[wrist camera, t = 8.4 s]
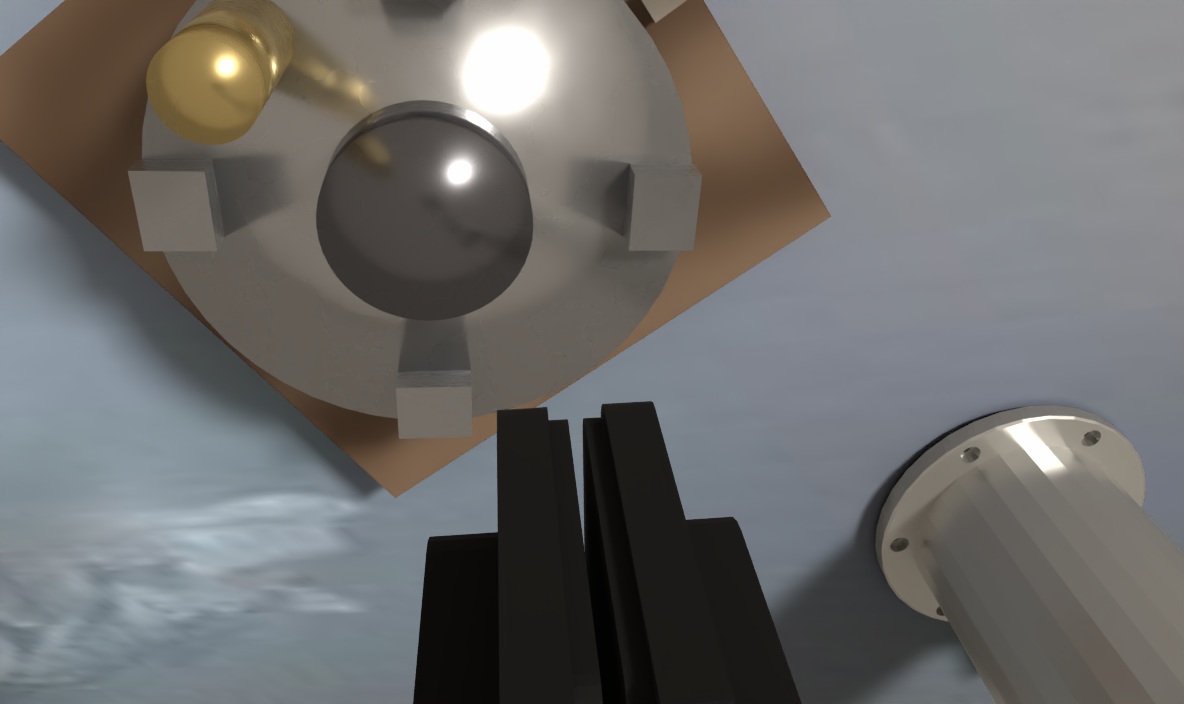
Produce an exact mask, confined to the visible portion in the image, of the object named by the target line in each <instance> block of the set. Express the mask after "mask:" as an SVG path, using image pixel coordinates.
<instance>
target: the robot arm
mask: <svg viewBox="0 0 1184 704" xmlns="http://www.w3.org/2000/svg"><path fill="white" fill-rule="evenodd" d="M583 475H584V541H585V552H584V544H583V536H582V528H581V520H580V512H579V504H578V496H577V488H576V480H575V472H574V464H573V457H572V449H571V441H570V433H569V425H568V420H567V419H566V420H548V411H547V407H542V408H524V409H506V410H497V489H498V532H496V533H481V534H466V535H451V536H435V537H429V540H428V544H427V552H426V563H425V575H424V586H423V597H422V609H421V620H420V632H419V643H418V655H417V666H416V678H415V689H414V700H413V704H801V701H800V698H799V695H798V692H797V689H796V687H795V684H794V681H793V678H792V675H791V672H790V669H789V666H788V664H787V661H786V658H785V655H784V652H783V649H782V646H781V643H780V641H779V638H778V635H777V632H776V629H775V626H774V623H773V620H772V618H771V615H770V612H769V609H768V606H767V603H766V600H765V597H764V595H763V592H762V589H761V586H760V583H759V580H758V577H757V574H756V572H755V569H754V566H753V563H752V560H751V557H750V554H749V551H748V549H747V546H746V543H745V540H744V537H743V534H742V531H741V529H740V527H739V525H738V522H737V521H736V520H735V519H734V518H733V517H723V518H708V519H693V520H686V519H685V515H684V512H683V508H682V505H681V501H680V497H679V494H678V490H677V486H676V483H675V479H674V475H673V472H672V468H671V465H670V461H669V457H668V454H667V450H666V446H665V443H664V439H663V435H662V432H661V428H660V424H659V421H658V417H657V414H656V410H655V407H654V404H653V402H651V401H648V402H631V403H613V404H602V407H601V418H584V419H583ZM1144 497H1145V473H1144V469H1143V466H1142V462H1141V459H1140V457H1139V455H1138V454H1137V452H1136V451H1135V449H1134V448H1133V446H1132V445H1131V443H1130V442H1129V441H1128V440H1127V439H1126V438H1125V437H1124V436H1123V435H1122V434H1121V433H1120V432H1119V431H1118V430H1117V429H1116V428H1115V427H1114V426H1113V425H1111V424H1110V423H1108V422H1107V421H1105V420H1103V419H1102V418H1100V417H1099V416H1097V415H1095V414H1092V413H1089V412H1086V411H1083V410H1080V409H1077V408H1072V407H1063V406H1055V405H1045V406H1027V407H1022V408H1017V409H1013V410H1008V411H1003V412H999V413H996V414H994V415H991V416H988V417H985V418H983V419H980V420H977V421H975V422H972V423H971V424H969V425H967V426H965V427H963V428H961V429H959V430H957V431H955V432H954V433H952V434H950V435H948V436H947V437H945V438H944V439H943V440H941V441H940V442H938V443H937V444H936V445H934V446H933V447H931V448H930V449H929V450H927V451H926V452H925V453H924V454H923V455H922V456H921V457H920V458H919V459H918V460H917V461H916V462H915V463H914V464H912V465H911V466H910V467H909V468H908V469H907V470H906V472H905V473H904V474H903V476H902V477H901V478H900V480H899V481H898V482H897V484H896V485H895V486H894V488H893V489H892V491H891V493H890V494H889V496H888V498H887V500H886V502H885V504H884V506H883V508H882V510H881V514H880V517H879V521H878V524H877V528H876V544H875V549H876V553H877V558H878V563H879V566H880V568H881V570H882V572H883V574H884V576H885V578H886V580H887V582H888V584H889V586H890V587H891V588H892V590H893V591H894V592H895V594H896V595H897V596H898V598H899V599H900V600H901V601H903V602H904V603H905V604H907V605H908V606H909V607H910V608H912V609H913V610H915V611H917V612H919V613H921V614H924V615H926V616H928V617H930V618H934V619H938V620H942V621H947V622H949V623H950V625H951V627H952V628H953V630H954V632H955V634H956V635H957V637H958V639H959V640H960V642H961V644H962V646H963V647H964V649H965V651H966V653H967V654H968V656H969V658H970V659H971V661H972V663H973V665H974V666H975V668H976V670H977V672H978V673H979V675H980V677H981V678H982V680H983V682H984V684H985V685H986V687H987V689H988V691H989V692H990V694H991V696H992V697H993V699H994V701H995V703H996V704H1184V553H1183V552H1182V551H1181V550H1180V549H1179V548H1178V547H1177V546H1176V544H1175V543H1174V542H1173V541H1172V540H1171V539H1170V538H1169V537H1168V536H1167V535H1166V534H1165V533H1164V532H1163V531H1162V529H1161V528H1160V527H1159V526H1158V525H1157V524H1156V523H1155V522H1154V521H1153V520H1152V519H1151V518H1150V517H1149V516H1148V514H1147V513H1146V512H1145V511H1144V510H1143V509H1142V506H1143V502H1144Z"/></svg>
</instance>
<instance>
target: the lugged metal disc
mask: <svg viewBox="0 0 1184 704" xmlns="http://www.w3.org/2000/svg"><path fill="white" fill-rule="evenodd" d="M146 87H147V93H148V100H147V106H146V111H145V117H144V123H143V131H142V158H138V159H137V160H136V161H135V163H134V164H133V165H132V166H131V167H130V169H129V170H128V175H129V180H130V185H131V190H132V195H133V200H134V204H135V209H136V214H137V219H138V224H139V229H140V234H141V239H142V244H143V249H144V251H163V252H164V254H165V257H166V259H167V261H168V264H169V266H170V267H171V269H172V271H173V272H174V274H175V276H176V277H177V279H178V281H179V283H180V284H181V286H182V288H183V289H184V291H185V293H186V294H187V296H188V297H189V298H190V299H191V301H192V302H193V303H194V305H195V306H196V307H197V309H198V310H199V311H200V312H201V314H202V315H203V316H204V318H205V319H206V320H207V321H208V322H209V323H210V324H211V325H212V326H213V327H214V328H215V329H216V330H217V331H218V332H219V334H220V335H221V336H222V337H223V338H224V339H225V340H226V341H227V342H228V343H229V344H230V345H232V346H233V347H234V348H235V349H237V350H238V351H239V352H240V353H242V354H243V355H244V356H245V357H246V358H248V359H249V360H250V361H251V362H253V363H254V364H255V365H257V366H258V367H260V368H261V369H263V370H264V371H266V372H268V373H269V374H271V375H272V376H274V377H276V378H277V379H279V380H280V381H282V382H283V383H285V384H287V385H290V386H292V387H294V388H296V389H298V390H300V391H302V392H304V393H306V394H308V395H310V396H312V397H314V398H317V399H320V400H323V401H326V402H328V403H331V404H334V405H337V406H339V407H342V408H346V409H350V410H354V411H358V412H362V413H366V414H370V415H375V416H382V417H389V418H397V419H398V431H399V439H411V438H448V437H472V417H476V416H481V415H487V414H492V413H497V410H506V409H511V408H514V407H517V406H521V405H524V404H527V403H529V402H532V401H534V400H536V399H539V398H541V397H543V396H546V395H548V394H550V393H553V392H555V391H557V390H558V389H560V388H562V387H564V386H565V385H567V384H569V383H571V382H572V381H574V380H576V379H578V378H579V377H581V376H582V375H584V374H585V373H587V372H588V371H589V370H591V369H592V368H593V367H595V366H596V365H597V364H599V363H600V362H602V361H603V360H604V359H605V358H606V357H608V356H609V355H610V354H611V353H612V352H613V351H614V350H615V349H616V348H617V347H618V346H619V345H620V344H621V343H623V342H624V341H625V340H626V339H627V338H628V336H629V335H630V334H631V333H632V332H633V330H634V329H635V328H636V327H637V326H638V324H639V323H640V322H641V321H642V320H643V318H644V317H645V316H646V315H647V313H648V312H649V310H650V309H651V307H652V305H653V304H654V302H655V301H656V299H657V298H658V296H659V295H660V293H661V291H662V290H663V288H664V286H665V284H666V281H667V279H668V277H669V275H670V273H671V271H672V269H673V267H674V265H675V262H676V260H677V256H678V253H679V251H693V250H694V242H695V233H696V225H697V216H698V208H699V199H700V191H701V182H702V175H701V173H700V171H699V170H698V168H697V166H696V165H695V164H692V160H691V149H690V138H689V133H688V128H687V124H686V120H685V115H684V111H683V107H682V102H681V100H680V97H679V95H678V92H677V89H676V87H675V84H674V82H673V79H672V76H671V74H670V71H669V69H668V67H667V65H666V63H665V62H664V60H663V58H662V56H661V54H660V52H659V51H658V49H657V47H656V45H655V43H654V41H653V40H652V38H651V37H650V35H649V34H648V32H647V31H646V30H645V28H644V27H643V26H642V24H641V23H640V22H639V20H638V19H637V18H636V16H635V15H634V14H633V12H632V11H631V9H630V8H629V7H628V5H627V4H626V3H625V1H624V0H196V1H195V3H194V4H193V5H192V7H191V8H190V9H189V11H188V12H187V13H186V15H185V16H184V17H183V19H182V20H181V21H180V23H179V24H178V26H177V28H176V30H175V31H174V33H173V35H172V37H171V39H170V40H169V41H168V42H167V43H166V44H165V45H164V46H163V47H162V48H161V49H160V50H159V51H158V52H157V53H156V54H155V55H154V57H153V58H152V60H151V62H150V64H149V67H148V70H147V76H146Z"/></svg>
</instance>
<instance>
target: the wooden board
mask: <svg viewBox="0 0 1184 704" xmlns="http://www.w3.org/2000/svg"><path fill="white" fill-rule="evenodd" d="M195 1H196V0H65V1H64V2H63V3H61V4H60V5H59V6H58V7H57V8H56V9H54V10H53V11H52V12H51V13H50V14H49V15H47V16H46V17H45V18H44V19H43V20H42V21H41V22H39V23H38V24H37V25H36V26H35V27H34V28H32V29H31V30H30V31H29V32H28V33H27V34H26V35H24V36H23V37H22V38H21V39H20V40H19V41H17V42H16V43H15V44H14V45H13V46H12V47H10V48H9V49H8V50H7V51H6V52H5V53H4V54H2V55H1V56H0V140H1V141H2V142H3V143H4V144H5V145H7V146H8V147H9V148H10V149H11V150H12V151H13V152H14V153H15V154H17V155H18V156H19V157H20V158H21V159H22V160H23V161H24V162H25V163H26V164H28V165H29V166H30V167H31V168H32V169H33V170H34V171H35V172H36V173H37V174H39V175H40V176H41V177H42V178H43V179H44V180H45V181H46V182H47V183H48V184H50V185H51V186H52V187H53V188H54V189H55V190H56V191H57V192H58V193H60V194H61V195H62V196H63V197H64V198H65V199H66V200H67V201H68V202H69V203H71V204H72V205H73V206H74V207H75V208H76V209H77V210H78V211H79V212H80V213H82V214H83V215H84V216H85V217H86V218H87V219H88V220H89V221H90V222H91V223H93V224H94V225H95V226H96V227H97V228H98V229H99V230H100V231H101V232H103V233H104V234H105V235H106V236H107V237H108V238H109V239H110V240H111V241H112V242H114V243H115V244H116V245H117V246H118V247H119V248H120V249H121V250H122V251H123V252H125V253H126V254H127V255H128V256H129V257H130V258H131V259H132V260H133V261H134V262H136V263H137V264H138V265H139V266H140V267H141V268H142V269H143V270H144V271H146V272H147V273H148V274H149V275H150V276H151V277H152V278H153V279H154V280H155V281H157V282H158V283H159V284H160V285H161V286H162V287H163V288H164V289H165V290H166V291H168V292H169V293H170V294H171V295H172V296H173V297H174V298H175V299H176V300H177V301H179V302H180V303H181V304H182V305H183V306H184V307H185V308H186V309H187V310H189V311H190V312H191V313H192V314H193V315H194V316H195V317H196V318H197V319H198V320H200V321H201V322H202V323H203V324H204V325H205V326H206V327H207V328H208V329H209V330H211V331H212V332H213V333H214V334H215V335H216V336H217V337H218V338H219V339H221V340H222V341H223V342H224V343H225V344H226V345H227V346H228V347H229V348H230V349H232V350H233V351H234V352H235V353H236V354H237V355H238V356H239V357H240V358H241V359H243V360H244V361H245V362H246V363H247V364H248V365H249V366H250V367H251V368H252V369H254V370H255V371H256V372H257V373H258V374H259V375H260V376H261V377H262V378H264V379H265V380H266V381H267V382H268V383H269V384H270V385H271V386H272V387H273V388H275V389H276V390H277V391H278V392H279V393H280V394H281V395H282V396H283V397H284V398H286V399H287V400H288V401H289V402H290V403H291V404H292V405H293V406H294V407H295V408H297V409H298V410H299V411H300V412H301V413H302V414H303V415H304V416H305V417H307V418H308V419H309V420H310V421H311V422H312V423H313V424H314V425H315V426H316V427H318V428H319V429H320V430H321V431H322V432H323V433H324V434H325V435H326V436H327V437H329V438H330V439H331V440H332V441H333V442H334V443H335V444H336V445H337V446H338V447H340V448H341V449H342V450H343V451H344V452H345V453H346V454H347V455H348V456H350V457H351V458H352V459H353V460H354V461H355V462H356V463H357V464H358V465H359V466H361V467H362V468H363V469H364V470H365V471H366V472H367V473H368V474H369V475H370V476H372V477H373V478H374V479H375V480H376V481H377V482H378V483H379V484H380V485H381V486H383V487H384V488H385V489H386V490H387V491H388V492H389V493H390V494H391V495H393V496H394V497H395V498H396V497H398V496H399V495H401V494H402V493H404V492H405V491H407V490H408V489H410V488H412V487H413V486H415V485H416V484H418V483H419V482H421V481H422V480H424V479H425V478H427V477H429V476H430V475H432V474H433V473H435V472H436V471H438V470H439V469H441V468H442V467H444V466H446V465H447V464H449V463H450V462H452V461H453V460H455V459H456V458H458V457H460V456H461V455H463V454H464V453H466V452H467V451H469V450H470V449H472V448H473V447H475V446H477V445H478V444H480V443H481V442H483V441H484V440H486V439H487V438H489V437H490V436H492V435H494V434H495V433H497V413H492V414H487V415H481V416H476V417H472V437H448V438H411V439H399V431H398V419H397V418H389V417H382V416H375V415H370V414H366V413H362V412H358V411H354V410H350V409H346V408H342V407H339V406H337V405H334V404H331V403H328V402H326V401H323V400H320V399H317V398H314V397H312V396H310V395H308V394H306V393H304V392H302V391H300V390H298V389H296V388H294V387H292V386H290V385H287V384H285V383H283V382H282V381H280V380H279V379H277V378H276V377H274V376H272V375H271V374H269V373H268V372H266V371H264V370H263V369H261V368H260V367H258V366H257V365H255V364H254V363H253V362H251V361H250V360H249V359H248V358H246V357H245V356H244V355H243V354H242V353H240V352H239V351H238V350H237V349H235V348H234V347H233V346H232V345H230V344H229V343H228V342H227V341H226V340H225V339H224V338H223V337H222V336H221V335H220V334H219V332H218V331H217V330H216V329H215V328H214V327H213V326H212V325H211V324H210V323H209V322H208V321H207V320H206V319H205V318H204V316H203V315H202V314H201V312H200V311H199V310H198V309H197V307H196V306H195V305H194V303H193V302H192V301H191V299H190V298H189V297H188V296H187V294H186V293H185V291H184V289H183V288H182V286H181V284H180V283H179V281H178V279H177V277H176V276H175V274H174V272H173V271H172V269H171V267H170V266H169V264H168V261H167V259H166V257H165V254H164V252H163V251H144V249H143V244H142V239H141V234H140V229H139V224H138V219H137V214H136V209H135V204H134V200H133V195H132V190H131V185H130V180H129V175H128V170H129V169H130V167H131V166H132V165H133V164H134V163H135V161H136V160H137V159H138V158H142V131H143V123H144V117H145V111H146V106H147V100H148V93H147V87H146V76H147V70H148V67H149V64H150V62H151V60H152V58H153V57H154V55H155V54H156V53H157V52H158V51H159V50H160V49H161V48H162V47H163V46H164V45H165V44H166V43H167V42H168V41H169V40H170V39H171V37H172V35H173V33H174V31H175V30H176V28H177V26H178V24H179V23H180V21H181V20H182V19H183V17H184V16H185V15H186V13H187V12H188V11H189V9H190V8H191V7H192V5H193V4H194V3H195ZM624 1H625V3H626V4H627V5H628V7H629V8H630V9H631V11H632V12H633V14H634V15H635V16H636V18H637V19H638V20H639V22H640V23H641V24H642V26H643V27H644V28H645V30H646V31H647V32H648V34H649V35H650V37H651V38H652V40H653V41H654V43H655V45H656V47H657V49H658V51H659V52H660V54H661V56H662V58H663V60H664V62H665V63H666V65H667V67H668V69H669V71H670V74H671V76H672V79H673V82H674V84H675V87H676V89H677V92H678V95H679V97H680V100H681V102H682V107H683V111H684V115H685V120H686V124H687V128H688V133H689V138H690V149H691V160H692V164H695V165H696V166H697V168H698V170H699V171H700V173H701V175H702V182H701V191H700V199H699V208H698V216H697V225H696V233H695V242H694V250H693V251H679V253H678V256H677V260H676V262H675V265H674V267H673V269H672V271H671V273H670V275H669V277H668V279H667V281H666V284H665V286H664V288H663V290H662V291H661V293H660V295H659V296H658V298H657V299H656V301H655V302H654V304H653V305H652V307H651V309H650V310H649V312H648V313H647V315H646V316H645V317H644V318H643V320H642V321H641V322H640V323H639V324H638V326H637V327H636V328H635V329H634V330H633V332H632V333H631V334H630V335H629V336H628V338H627V339H626V340H625V341H624V342H623V343H621V344H620V345H619V346H618V347H617V348H616V349H615V350H614V351H613V352H612V353H611V354H610V355H609V356H608V357H606V358H605V359H604V360H603V361H602V362H600V363H599V364H597V365H596V366H595V367H593V368H592V369H591V370H589V371H588V372H587V373H585V374H584V375H582V376H581V377H579V378H578V379H576V380H574V381H572V382H571V383H569V384H567V385H565V386H564V387H562V388H560V389H558V390H557V391H555V392H553V393H550V394H548V395H546V396H543V397H541V398H539V399H536V400H534V401H532V402H529V403H527V404H524V405H521V406H517V407H514V408H511V409H524V408H535V407H537V406H538V405H540V404H542V403H543V402H545V401H546V400H548V399H549V398H551V397H552V396H554V395H555V394H557V393H559V392H560V391H562V390H563V389H565V388H566V387H568V386H569V385H571V384H573V383H574V382H576V381H577V380H579V379H580V378H582V377H583V376H585V375H586V374H588V373H590V372H591V371H593V370H594V369H596V368H597V367H599V366H600V365H602V364H603V363H605V362H607V361H608V360H610V359H611V358H613V357H614V356H616V355H617V354H619V353H620V352H622V351H624V350H625V349H627V348H628V347H630V346H631V345H633V344H634V343H636V342H638V341H639V340H641V339H642V338H644V337H645V336H647V335H648V334H650V333H651V332H653V331H655V330H656V329H658V328H659V327H661V326H662V325H664V324H665V323H667V322H668V321H670V320H672V319H673V318H675V317H676V316H678V315H679V314H681V313H682V312H684V311H686V310H687V309H689V308H690V307H692V306H693V305H695V304H696V303H698V302H699V301H701V300H703V299H704V298H706V297H707V296H709V295H710V294H712V293H713V292H715V291H716V290H718V289H720V288H721V287H723V286H724V285H726V284H727V283H729V282H730V281H732V280H734V279H735V278H737V277H738V276H740V275H741V274H743V273H744V272H746V271H747V270H749V269H751V268H752V267H754V266H755V265H757V264H758V263H760V262H761V261H763V260H764V259H766V258H768V257H769V256H771V255H772V254H774V253H775V252H777V251H778V250H780V249H781V248H783V247H785V246H786V245H788V244H789V243H791V242H792V241H794V240H795V239H797V238H799V237H800V236H802V235H803V234H805V233H806V232H808V231H809V230H811V229H812V228H814V227H816V226H817V225H819V224H820V223H822V222H823V221H825V220H826V219H828V218H829V217H831V215H830V213H829V212H828V210H827V208H826V207H825V205H824V203H823V201H822V200H821V198H820V196H819V195H818V193H817V191H816V190H815V188H814V186H813V185H812V183H811V181H810V180H809V178H808V176H807V174H806V173H805V171H804V169H803V168H802V166H801V164H800V163H799V161H798V159H797V158H796V156H795V154H794V152H793V151H792V149H791V147H790V146H789V144H788V142H787V141H786V139H785V137H784V136H783V134H782V132H781V131H780V129H779V127H778V125H777V124H776V122H775V120H774V119H773V117H772V115H771V114H770V112H769V110H768V109H767V107H766V105H765V103H764V102H763V100H762V98H761V97H760V95H759V93H758V92H757V90H756V88H755V87H754V85H753V83H752V82H751V80H750V78H749V76H748V75H747V73H746V71H745V70H744V68H743V66H742V65H741V63H740V61H739V60H738V58H737V56H736V55H735V53H734V51H733V49H732V48H731V46H730V44H729V43H728V41H727V39H726V38H725V36H724V34H723V33H722V31H721V29H720V27H719V26H718V24H717V22H716V21H715V19H714V17H713V16H712V14H711V12H710V11H709V9H708V7H707V6H706V4H705V2H704V0H624Z"/></svg>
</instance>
